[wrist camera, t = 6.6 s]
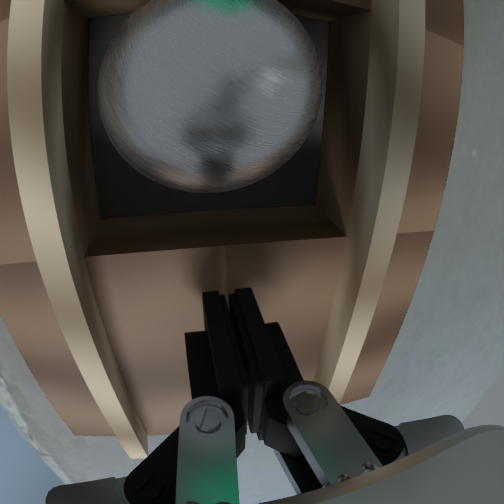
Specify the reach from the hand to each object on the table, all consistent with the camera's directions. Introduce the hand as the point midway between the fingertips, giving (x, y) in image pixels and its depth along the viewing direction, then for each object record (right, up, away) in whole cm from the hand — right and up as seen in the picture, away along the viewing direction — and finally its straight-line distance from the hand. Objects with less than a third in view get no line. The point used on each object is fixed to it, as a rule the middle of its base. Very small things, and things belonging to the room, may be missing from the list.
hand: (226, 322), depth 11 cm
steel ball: (0, +7, -3) cm, 8 cm away
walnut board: (-1, +4, +2) cm, 4 cm away
